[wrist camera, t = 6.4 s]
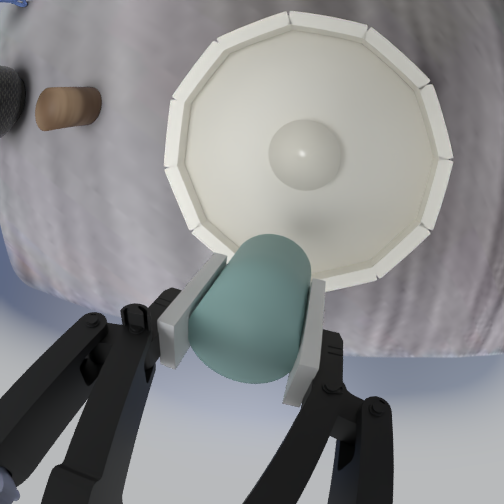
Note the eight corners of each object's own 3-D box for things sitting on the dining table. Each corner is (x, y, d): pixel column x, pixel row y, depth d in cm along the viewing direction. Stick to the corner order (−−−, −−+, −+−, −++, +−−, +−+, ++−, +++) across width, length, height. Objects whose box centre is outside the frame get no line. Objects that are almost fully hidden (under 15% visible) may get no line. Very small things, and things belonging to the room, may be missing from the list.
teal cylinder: (229, 293, 20) (186, 364, 13) (238, 225, 17) (188, 283, 11) (300, 312, 19) (283, 394, 13) (320, 245, 17) (313, 317, 10)
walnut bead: (95, 79, 26) (53, 78, 20) (105, 112, 28) (62, 115, 22) (72, 100, 28) (32, 104, 22) (81, 131, 29) (40, 139, 23)
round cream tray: (383, 0, 16) (388, -13, 13) (456, 247, 24) (466, 259, 22) (146, 87, 25) (130, 86, 23) (232, 298, 34) (224, 312, 31)
